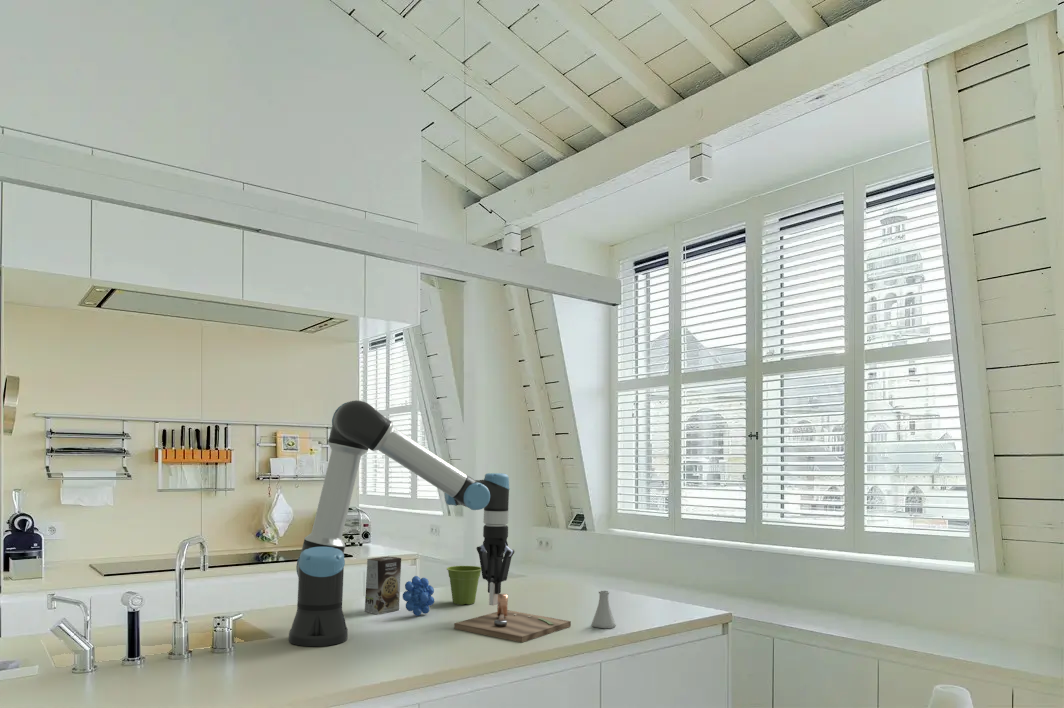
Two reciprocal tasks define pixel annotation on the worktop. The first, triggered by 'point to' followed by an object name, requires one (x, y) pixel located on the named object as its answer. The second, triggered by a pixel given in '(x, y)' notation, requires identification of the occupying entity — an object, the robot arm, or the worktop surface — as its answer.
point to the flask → (603, 612)
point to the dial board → (513, 626)
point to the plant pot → (464, 583)
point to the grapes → (418, 595)
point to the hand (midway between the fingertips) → (493, 604)
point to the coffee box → (383, 585)
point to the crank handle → (502, 610)
